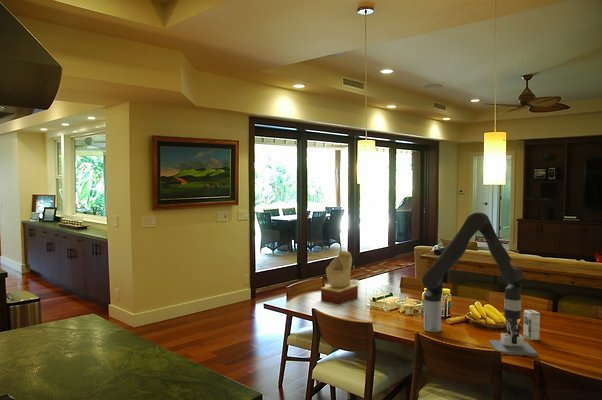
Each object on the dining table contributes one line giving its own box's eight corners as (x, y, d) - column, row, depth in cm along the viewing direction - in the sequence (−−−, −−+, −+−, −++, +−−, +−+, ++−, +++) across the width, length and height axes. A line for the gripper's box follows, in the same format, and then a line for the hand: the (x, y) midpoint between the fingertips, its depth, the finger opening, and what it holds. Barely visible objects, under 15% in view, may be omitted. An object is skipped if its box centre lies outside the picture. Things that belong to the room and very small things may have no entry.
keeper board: (497, 354, 206) (497, 339, 206) (488, 342, 221) (489, 329, 221) (537, 356, 204) (537, 341, 203) (526, 344, 218) (526, 331, 218)
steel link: (504, 345, 210) (504, 337, 210) (500, 340, 216) (500, 333, 216) (523, 346, 209) (524, 338, 209) (519, 341, 215) (519, 334, 214)
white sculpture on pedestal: (340, 293, 325) (340, 247, 324) (360, 297, 314) (360, 250, 313) (320, 300, 307) (320, 251, 305) (341, 304, 295) (340, 254, 294)
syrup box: (522, 336, 230) (523, 309, 230) (533, 336, 231) (533, 309, 230) (529, 340, 225) (529, 312, 224) (540, 339, 225) (540, 312, 225)
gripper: (500, 303, 220) (499, 336, 220) (509, 311, 205) (508, 346, 206) (515, 304, 218) (515, 336, 219) (525, 312, 204) (525, 347, 205)
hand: (512, 341), depth 212 cm, fingers closed on steel link, 6 cm apart
